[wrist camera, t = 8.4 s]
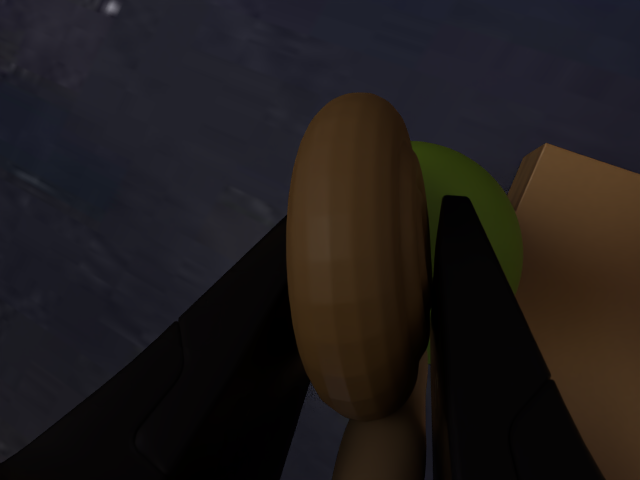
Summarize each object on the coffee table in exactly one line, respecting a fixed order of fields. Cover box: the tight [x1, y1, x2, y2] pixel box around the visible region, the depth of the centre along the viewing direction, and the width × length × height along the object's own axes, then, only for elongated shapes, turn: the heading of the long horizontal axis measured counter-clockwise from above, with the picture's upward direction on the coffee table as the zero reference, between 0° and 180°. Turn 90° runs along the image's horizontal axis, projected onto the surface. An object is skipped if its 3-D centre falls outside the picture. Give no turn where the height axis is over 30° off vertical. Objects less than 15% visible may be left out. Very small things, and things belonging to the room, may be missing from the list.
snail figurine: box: [286, 93, 523, 480], centre depth 9 cm, size 5×6×12 cm
